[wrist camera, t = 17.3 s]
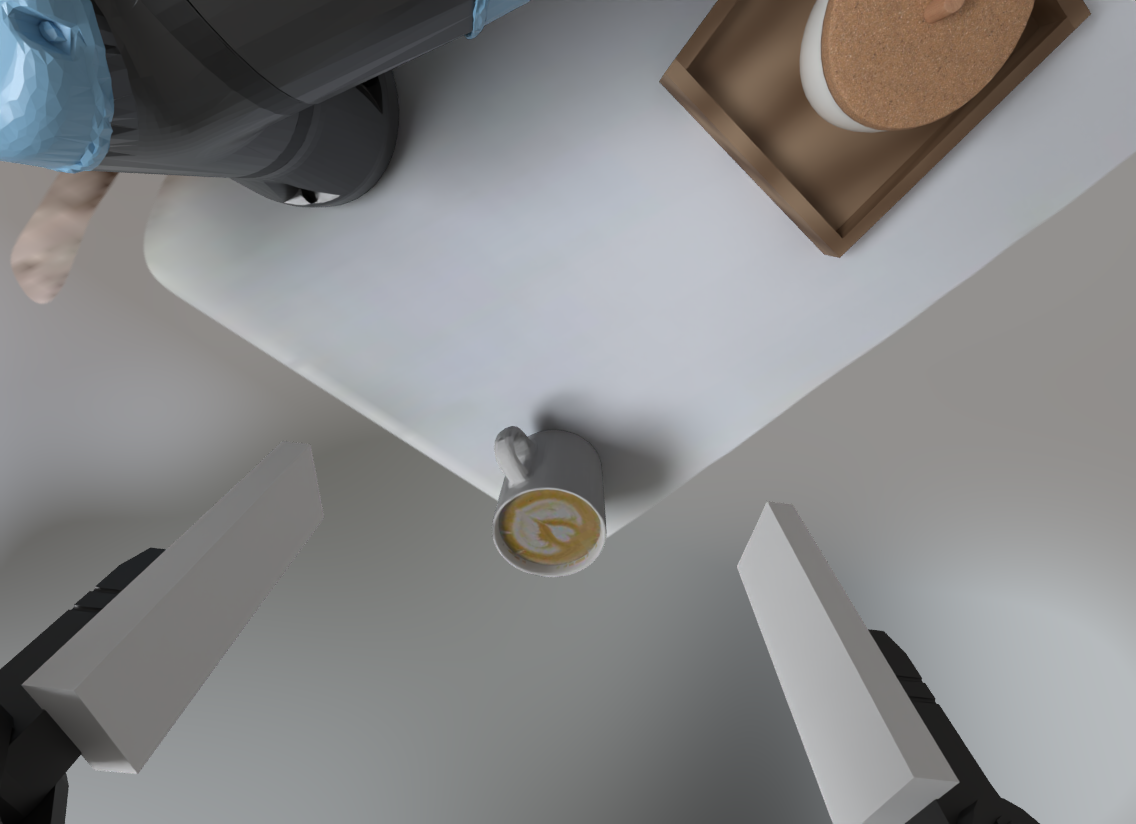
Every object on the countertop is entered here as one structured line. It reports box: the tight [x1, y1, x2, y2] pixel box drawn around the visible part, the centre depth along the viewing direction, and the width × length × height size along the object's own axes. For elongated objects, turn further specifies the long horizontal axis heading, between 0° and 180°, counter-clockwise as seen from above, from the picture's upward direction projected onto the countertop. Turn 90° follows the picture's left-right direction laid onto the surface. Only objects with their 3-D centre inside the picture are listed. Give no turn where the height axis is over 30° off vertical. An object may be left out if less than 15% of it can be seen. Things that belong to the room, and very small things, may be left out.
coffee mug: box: [492, 426, 606, 577], centre depth 42 cm, size 13×10×10 cm
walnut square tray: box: [659, 0, 1091, 258], centre depth 30 cm, size 19×19×2 cm
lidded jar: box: [799, 0, 1035, 133], centre depth 27 cm, size 11×11×9 cm
